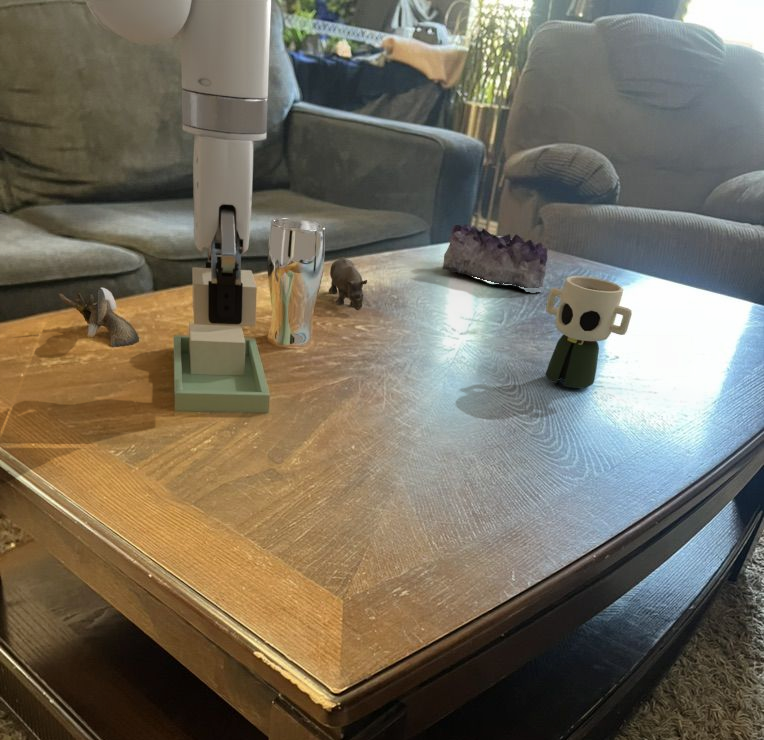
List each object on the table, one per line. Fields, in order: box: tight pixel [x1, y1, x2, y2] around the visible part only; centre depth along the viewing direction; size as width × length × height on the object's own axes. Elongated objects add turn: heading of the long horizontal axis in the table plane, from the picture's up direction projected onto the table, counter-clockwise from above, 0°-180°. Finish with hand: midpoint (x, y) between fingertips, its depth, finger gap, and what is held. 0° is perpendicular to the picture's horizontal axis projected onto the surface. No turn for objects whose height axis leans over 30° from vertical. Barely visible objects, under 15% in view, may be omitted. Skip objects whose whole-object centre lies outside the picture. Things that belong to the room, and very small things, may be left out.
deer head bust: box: [58, 287, 140, 348], centre depth 94 cm, size 8×7×9 cm
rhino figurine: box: [328, 256, 368, 311], centre depth 118 cm, size 4×14×6 cm, turn 16°
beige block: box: [188, 322, 245, 376], centre depth 90 cm, size 6×6×4 cm
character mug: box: [545, 275, 632, 389], centre depth 98 cm, size 11×7×13 cm, turn 55°
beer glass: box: [266, 217, 326, 350], centre depth 98 cm, size 7×7×15 cm
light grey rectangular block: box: [191, 266, 258, 327], centre depth 79 cm, size 6×6×4 cm
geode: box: [442, 223, 549, 288], centre depth 141 cm, size 20×12×10 cm, turn 62°
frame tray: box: [173, 334, 271, 414], centre depth 87 cm, size 17×10×2 cm, turn 13°
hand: (223, 310), depth 79 cm, fingers closed on light grey rectangular block, 6 cm apart
